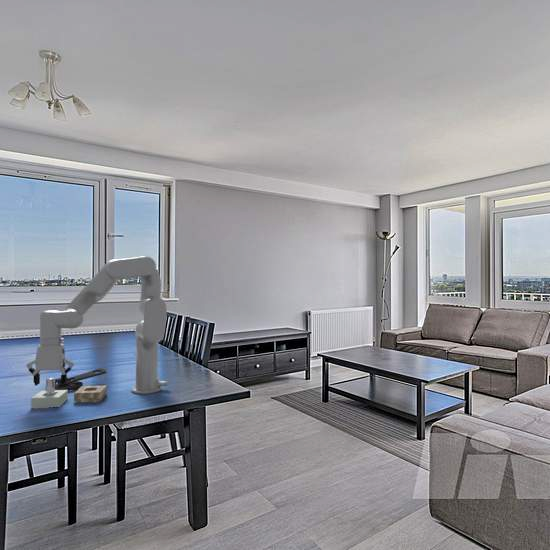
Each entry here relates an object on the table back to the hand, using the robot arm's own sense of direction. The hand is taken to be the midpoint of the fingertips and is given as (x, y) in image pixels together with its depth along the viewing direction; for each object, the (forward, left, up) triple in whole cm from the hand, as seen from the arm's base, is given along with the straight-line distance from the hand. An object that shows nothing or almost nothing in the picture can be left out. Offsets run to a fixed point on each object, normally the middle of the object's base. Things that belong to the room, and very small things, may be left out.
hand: (50, 384), depth 162 cm
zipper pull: (-3, -22, -8) cm, 24 cm away
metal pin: (0, 0, -8) cm, 8 cm away
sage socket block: (0, 0, -8) cm, 8 cm away
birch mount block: (-14, -5, -8) cm, 17 cm away
